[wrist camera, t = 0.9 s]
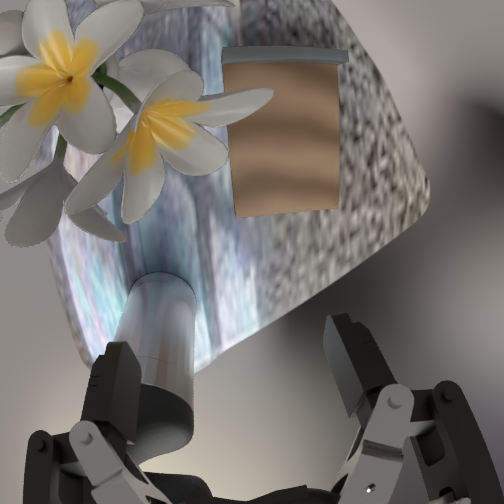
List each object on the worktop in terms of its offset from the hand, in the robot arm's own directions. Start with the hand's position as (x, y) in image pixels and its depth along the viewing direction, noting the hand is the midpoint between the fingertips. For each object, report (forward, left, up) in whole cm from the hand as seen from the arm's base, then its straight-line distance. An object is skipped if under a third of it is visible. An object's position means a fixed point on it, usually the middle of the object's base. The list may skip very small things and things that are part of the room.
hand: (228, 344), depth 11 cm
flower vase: (+11, +6, -24) cm, 27 cm away
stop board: (+5, -8, -23) cm, 25 cm away
